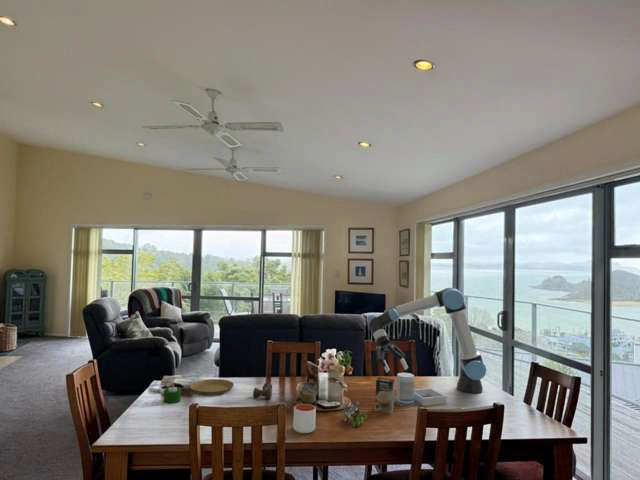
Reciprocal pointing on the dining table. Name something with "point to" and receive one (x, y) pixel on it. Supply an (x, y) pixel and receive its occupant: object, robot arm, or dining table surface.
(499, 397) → the dining table surface
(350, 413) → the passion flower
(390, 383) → the coffee box
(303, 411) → the cup
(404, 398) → the supplement tub
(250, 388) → the dining table surface
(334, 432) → the dining table surface
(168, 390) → the candle
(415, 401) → the slate mat
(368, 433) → the dining table surface
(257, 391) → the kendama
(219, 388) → the plant saucer
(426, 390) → the open box
